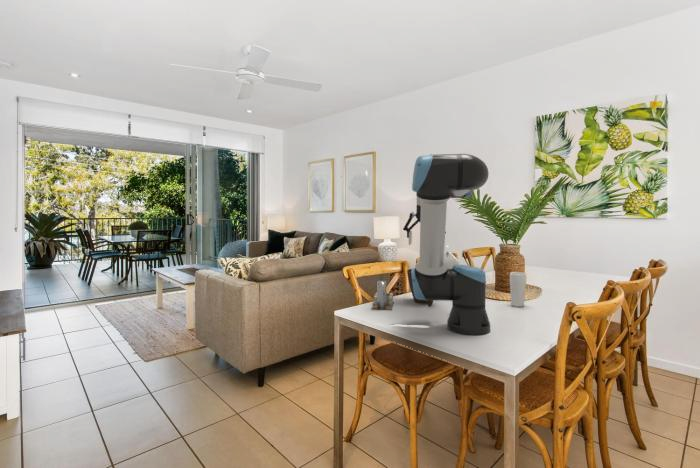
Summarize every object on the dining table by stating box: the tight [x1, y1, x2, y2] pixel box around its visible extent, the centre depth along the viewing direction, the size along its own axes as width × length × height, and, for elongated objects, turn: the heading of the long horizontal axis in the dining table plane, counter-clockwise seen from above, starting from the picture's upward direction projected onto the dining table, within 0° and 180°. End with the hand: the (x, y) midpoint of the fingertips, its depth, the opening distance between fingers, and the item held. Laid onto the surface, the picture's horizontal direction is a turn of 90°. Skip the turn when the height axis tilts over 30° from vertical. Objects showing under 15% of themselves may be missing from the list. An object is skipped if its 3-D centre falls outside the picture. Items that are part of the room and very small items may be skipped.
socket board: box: [370, 292, 395, 311], centre depth 166 cm, size 15×9×5 cm, turn 169°
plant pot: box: [406, 268, 434, 307], centre depth 171 cm, size 15×15×16 cm
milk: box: [444, 244, 460, 302], centre depth 183 cm, size 12×12×26 cm
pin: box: [376, 280, 387, 311], centre depth 160 cm, size 4×4×12 cm
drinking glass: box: [509, 271, 527, 308], centre depth 166 cm, size 7×7×15 cm
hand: (423, 245), depth 179 cm, fingers open, 13 cm apart
